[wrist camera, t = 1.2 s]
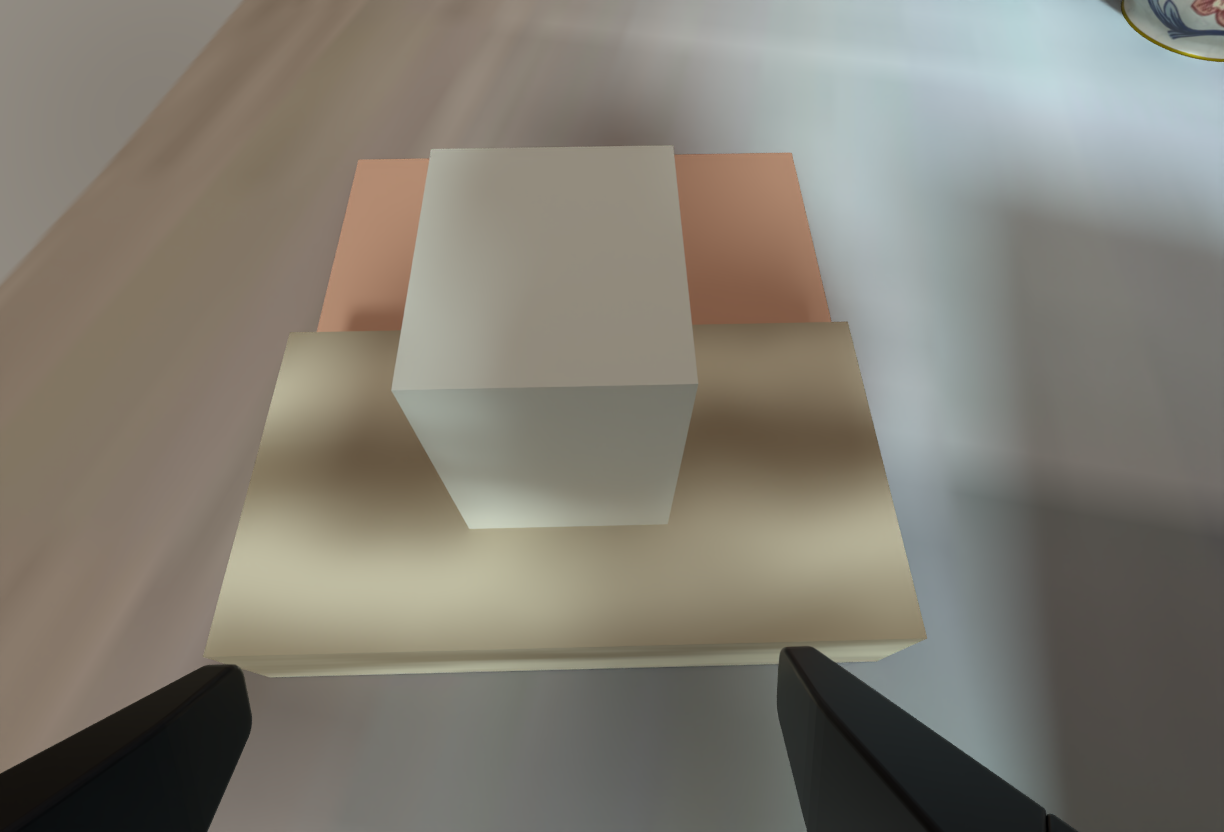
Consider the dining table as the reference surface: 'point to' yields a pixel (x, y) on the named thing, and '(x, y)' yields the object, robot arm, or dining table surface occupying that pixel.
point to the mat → (711, 226)
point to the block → (550, 334)
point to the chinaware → (1180, 25)
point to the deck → (569, 531)
